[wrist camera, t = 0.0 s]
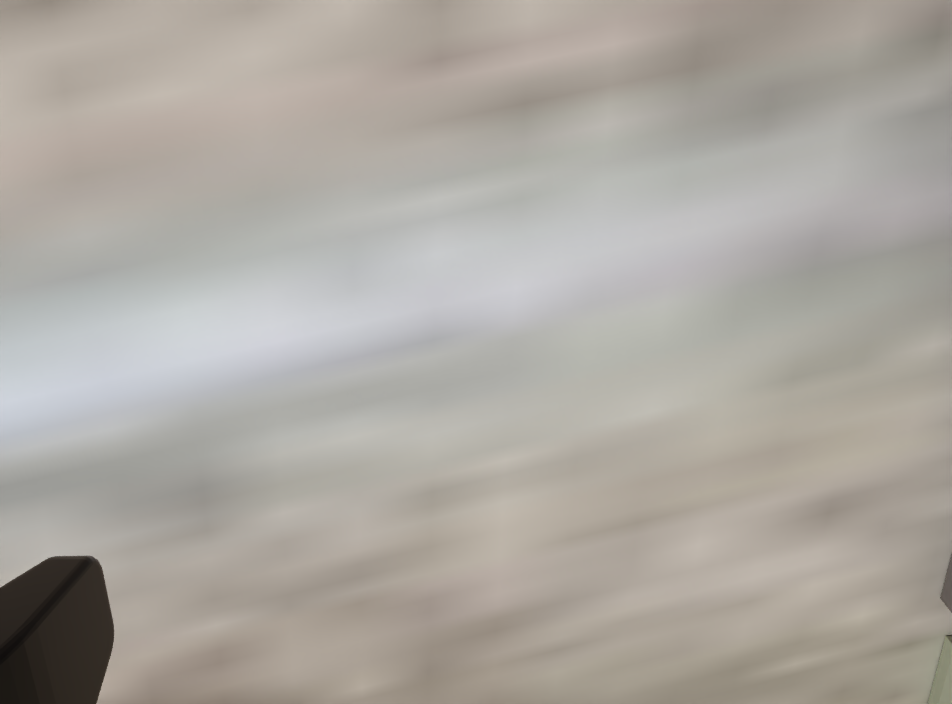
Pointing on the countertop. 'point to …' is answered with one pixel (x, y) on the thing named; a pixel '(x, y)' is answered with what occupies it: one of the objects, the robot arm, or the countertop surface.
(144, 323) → the countertop surface
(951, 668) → the rubber mat
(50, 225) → the countertop surface
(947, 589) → the grey flat square slab
